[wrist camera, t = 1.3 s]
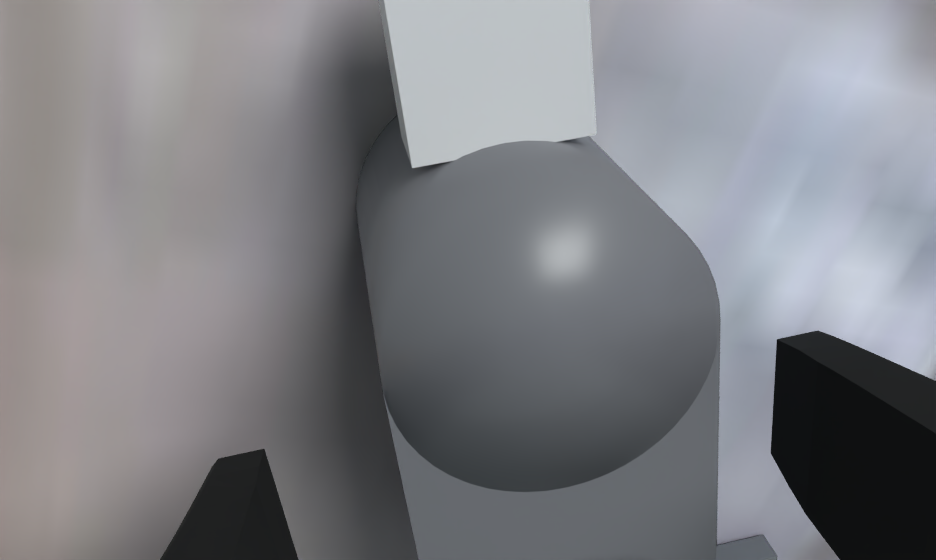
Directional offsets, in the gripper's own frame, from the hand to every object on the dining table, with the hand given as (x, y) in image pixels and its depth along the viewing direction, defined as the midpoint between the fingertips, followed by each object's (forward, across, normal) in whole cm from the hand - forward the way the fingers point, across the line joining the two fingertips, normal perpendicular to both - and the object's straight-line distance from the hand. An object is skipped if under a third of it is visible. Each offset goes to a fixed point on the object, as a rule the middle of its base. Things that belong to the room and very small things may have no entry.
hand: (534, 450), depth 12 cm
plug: (+3, 0, -1) cm, 3 cm away
